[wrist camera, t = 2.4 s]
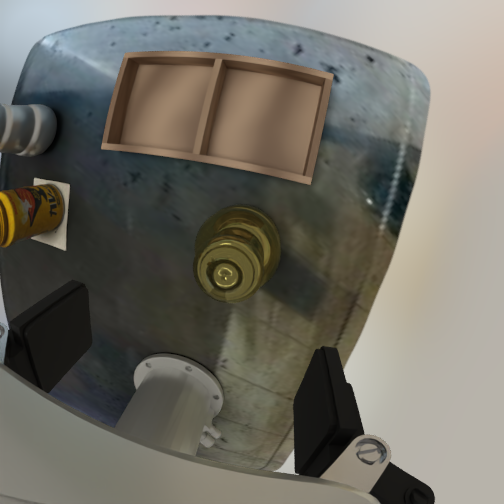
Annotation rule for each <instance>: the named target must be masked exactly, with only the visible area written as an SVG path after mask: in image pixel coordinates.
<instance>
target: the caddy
mask: <svg viewBox="0 0 504 504" xmlns="http://www.w3.org/2000/svg"><path fill="white" fill-rule="evenodd" d="M333 75H334V74H331V73H327V72H323V71H319V70H316V69H312V68H307V67H303V66H299V65H294V64H289V63H284V62H279V61H274V60H268V59H262V58H255V57H248V56H240V55H232V54H222V53H209V52H190V51H148V52H130V53H125V55H124V58H123V61H122V64H121V67H120V71H119V74H118V77H117V81H116V84H115V88H114V92H113V95H112V99H111V103H110V108H109V112H108V116H107V121H106V126H105V130H104V136H103V141H102V147H101V149H107V150H117V151H127V152H136V153H144V154H152V155H159V156H167V157H174V158H180V159H187V160H193V161H199V162H205V163H211V164H216V165H222V166H227V167H232V168H237V169H242V170H247V171H252V172H257V173H262V174H266V175H271V176H275V177H280V178H284V179H288V180H292V181H297V182H301V183H305V184H309V185H311V181H312V176H313V172H314V167H315V163H316V159H317V154H318V149H319V145H320V140H321V136H322V131H323V126H324V121H325V116H326V111H327V106H328V101H329V96H330V91H331V86H332V80H333Z"/></svg>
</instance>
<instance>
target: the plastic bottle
mask: <svg viewBox="0 0 504 504" xmlns="http://www.w3.org/2000/svg"><path fill="white" fill-rule="evenodd" d="M56 131H57V119H56V116H55V114H54V112H53V110H52V109H51V108H49V107H47V106H45V105H42V104H32V105H6V104H0V152H1V153H13V154H17V155H21V156H27V157H32V156H36V155H39V154H41V153H43V152H44V151H45V150H46V149H47V148H48V147H49V146H50V145H51V143H52V142H53V140H54V138H55V135H56Z"/></svg>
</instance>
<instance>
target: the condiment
mask: <svg viewBox="0 0 504 504" xmlns="http://www.w3.org/2000/svg"><path fill="white" fill-rule="evenodd" d="M69 192H70V184H65V183H60V182H55V181H49V180H44V179H37V178H34V186H28V187H23V188H17V189H12V190H7V191H0V246H1V247H8V246H11V245H13V244H16V243H18V242H21V241H24V240H26V239H29V238H31V239H34V240H38V241H41V242H44V243H46V244H49V245H52V246H55V247H57V248H60V249H63V250H65V251H66V227H67V216H68V203H69ZM56 229H58V230H57V232H56V233H55V231H56Z"/></svg>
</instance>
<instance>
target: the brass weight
mask: <svg viewBox="0 0 504 504" xmlns="http://www.w3.org/2000/svg"><path fill="white" fill-rule="evenodd" d="M280 257H281V244H280V237H279V233H278V230H277V227H276V225H275V223H274V222H273V220H272V219H271V218H270V217H269V216H268V215H267V214H266V213H265V212H264V211H262V210H261V209H259V208H257V207H254V206H251V205H245V204H238V205H232V206H229V207H226V208H224V209H222V210H220V211H218V212H217V213H215V214H214V215H212V216H211V217H209V218H208V219H207V220H206V221H205V222H204V223H203V225H202V226H201V228H200V229H199V231H198V234H197V237H196V240H195V258H194V262H193V272H194V277H195V280H196V282H197V284H198V286H199V287H200V288H201V290H202V291H203V292H204V293H205V294H206V295H208V296H209V297H211V298H212V299H214V300H217V301H220V302H224V303H238V302H241V301H244V300H246V299H248V298H250V297H251V296H252V295H254V294H255V293H256V291H257V290H258V289H259V287H261V286H263V285H264V284H265V283H267V282H268V281H269V280H270V279H271V278H272V276H273V275H274V274H275V272H276V270H277V268H278V266H279V262H280Z"/></svg>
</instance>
